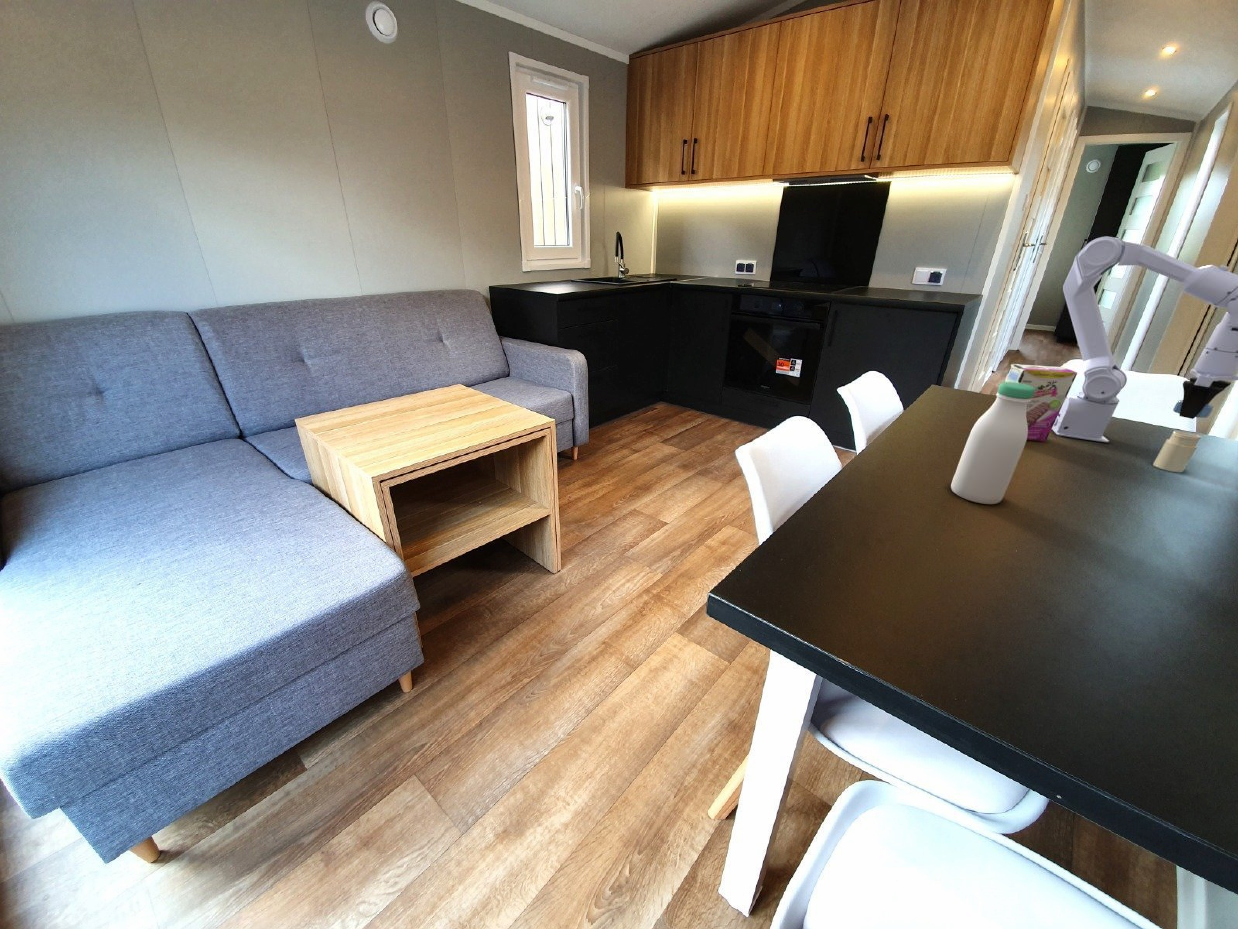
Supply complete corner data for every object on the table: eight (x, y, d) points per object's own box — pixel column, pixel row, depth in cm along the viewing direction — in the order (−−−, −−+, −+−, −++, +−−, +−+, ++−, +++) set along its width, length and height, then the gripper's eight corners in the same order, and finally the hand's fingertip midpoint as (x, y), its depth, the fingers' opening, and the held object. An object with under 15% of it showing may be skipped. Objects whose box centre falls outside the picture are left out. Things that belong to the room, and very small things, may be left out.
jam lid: (1202, 413, 103) (1208, 403, 102) (1211, 419, 99) (1217, 409, 98) (1169, 408, 106) (1175, 398, 105) (1177, 414, 102) (1182, 404, 101)
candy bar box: (996, 439, 112) (1023, 368, 105) (983, 431, 116) (1009, 363, 109) (1048, 442, 111) (1079, 371, 104) (1033, 434, 115) (1062, 366, 108)
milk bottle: (1010, 508, 83) (1059, 394, 74) (960, 502, 84) (1003, 389, 75) (988, 487, 89) (1031, 380, 81) (942, 482, 91) (980, 376, 82)
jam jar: (1159, 469, 99) (1178, 435, 96) (1148, 461, 103) (1166, 428, 100) (1187, 474, 98) (1208, 439, 94) (1176, 465, 101) (1195, 432, 98)
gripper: (1251, 358, 90) (1210, 427, 96) (1261, 350, 98) (1223, 414, 104) (1196, 350, 95) (1160, 416, 101) (1209, 344, 103) (1176, 405, 109)
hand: (1189, 415), depth 103 cm, fingers closed on jam lid, 5 cm apart
